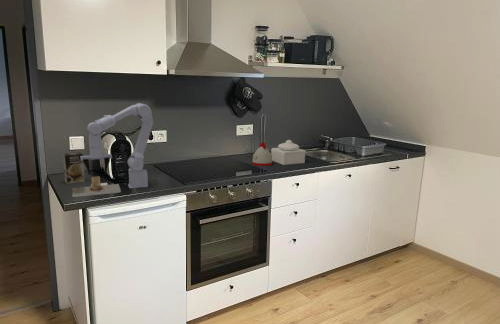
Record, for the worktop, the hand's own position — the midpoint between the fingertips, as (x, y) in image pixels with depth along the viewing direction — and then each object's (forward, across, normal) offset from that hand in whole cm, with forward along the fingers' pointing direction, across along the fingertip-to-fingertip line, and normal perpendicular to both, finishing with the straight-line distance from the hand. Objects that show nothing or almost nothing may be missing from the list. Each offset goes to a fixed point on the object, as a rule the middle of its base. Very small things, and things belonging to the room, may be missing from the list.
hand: (97, 173), depth 195 cm
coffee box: (+10, +11, -22) cm, 26 cm away
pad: (+9, -1, -9) cm, 13 cm away
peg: (+9, +1, +2) cm, 10 cm away
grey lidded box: (+10, -128, -29) cm, 131 cm away
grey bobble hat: (+10, -107, -29) cm, 111 cm away
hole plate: (+9, +1, +2) cm, 10 cm away
